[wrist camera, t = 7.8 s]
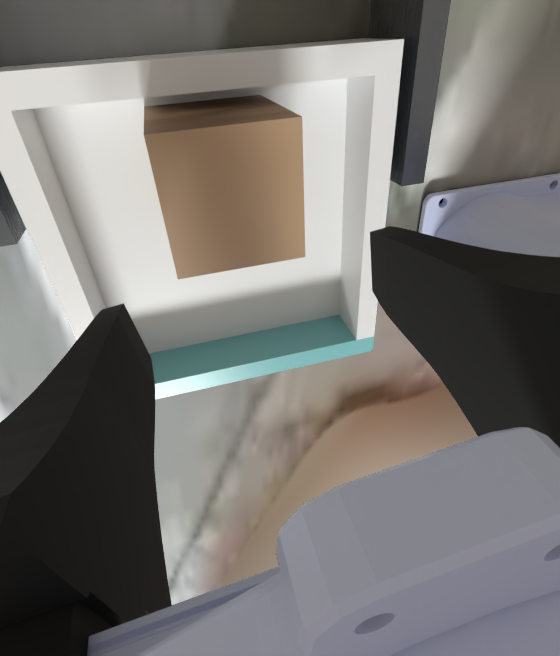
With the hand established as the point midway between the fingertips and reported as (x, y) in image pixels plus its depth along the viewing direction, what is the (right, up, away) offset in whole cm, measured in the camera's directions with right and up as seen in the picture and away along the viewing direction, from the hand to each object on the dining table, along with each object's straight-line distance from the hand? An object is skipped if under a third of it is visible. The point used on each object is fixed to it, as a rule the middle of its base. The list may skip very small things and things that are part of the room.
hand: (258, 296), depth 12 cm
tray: (-2, +4, +8) cm, 9 cm away
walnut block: (-2, +6, +5) cm, 8 cm away
